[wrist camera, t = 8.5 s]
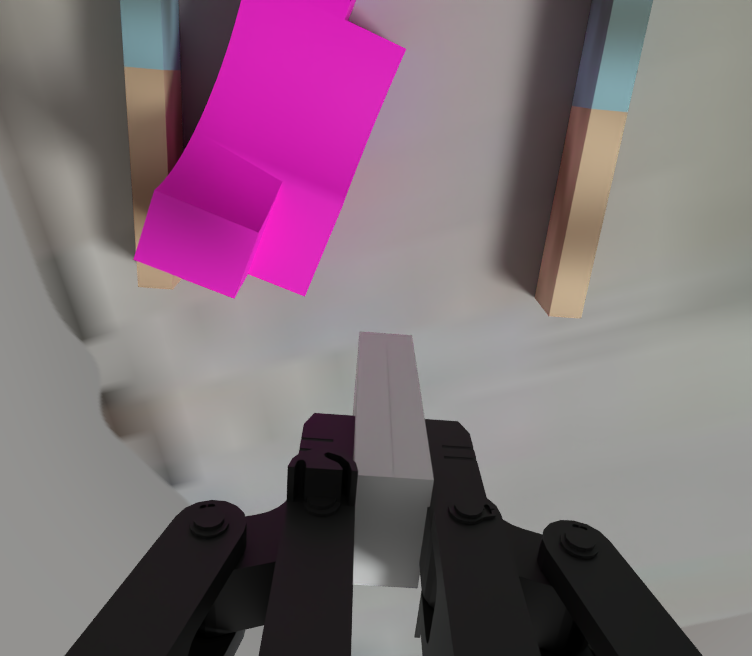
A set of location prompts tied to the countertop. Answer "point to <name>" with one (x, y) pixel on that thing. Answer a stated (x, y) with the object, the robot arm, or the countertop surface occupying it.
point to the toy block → (271, 148)
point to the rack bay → (577, 169)
